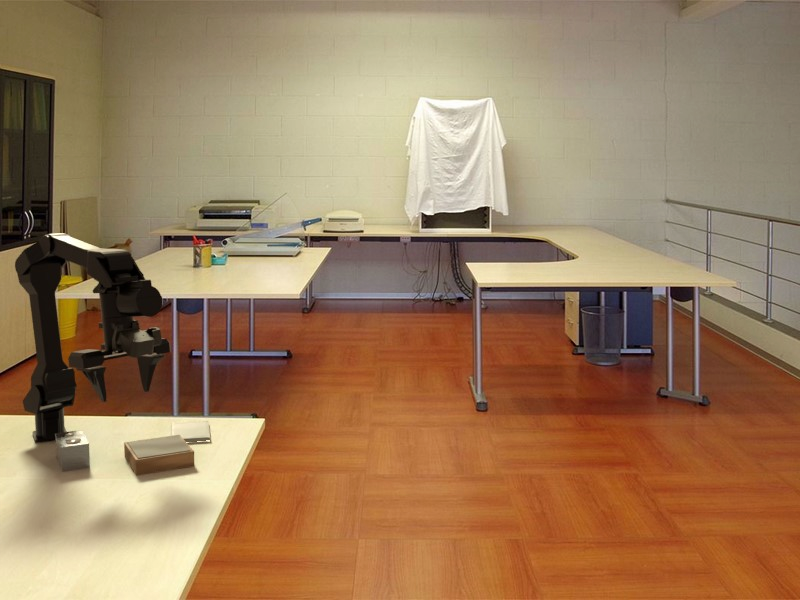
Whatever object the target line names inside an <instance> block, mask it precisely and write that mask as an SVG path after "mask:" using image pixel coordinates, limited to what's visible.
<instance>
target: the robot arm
mask: <svg viewBox="0 0 800 600" xmlns="http://www.w3.org/2000/svg"><path fill="white" fill-rule="evenodd" d="M69 262H70V263H73V264H75V265H78V266H80V267H82V268H84V269H85V271H86V274H87V275H88V276H89V277H91V278H92V279H93V280H95V281H96V282H97V285H96V286H94V288H93V289H92V294H99V295H98V296H99V304H100V305H99V306H100V315H101V322H98V329H102V333H103V336H102V337H103V342H104V343H101V344H100V349H101V350H100V349H93V348H91V349H89V348H88V349H80V350H75V351H71V352H70V354H69V356H68V358H67V361H68V365H67V364H66V362H64V361H65V360H64V358H63V357H64V356H63V350H62V342H61V334H60V326H59V316H58V308H57V307H58V306H57V299H56V291H57V289H58V287H59V285H60V283H61V281H62V269H63V268H64V267H65V266H66V264H68V263H69ZM14 269H15V272H16V273H17V278H18V283H19V284H20V286H21V287H22V288H23V290H25V292H26V293H27V294H28V297H29V303H30V304H29V305H30V311H31V313H30V314H31V320H32V329H33V337H34V344H35V354H36V360H37V361H36V363H37V364H36V365H35V368H34V369H33V372H32V374H31V376H30V389H29V390H28V392H27V394H26V395H25V396H24V398H23V399H22V404H23V408H24V411H25V412H28V413H31V414H33V415H34V426H35V430H33V431H32V436H33V439H34V442H36V443H39V442H46V441H55V433H62V432H68V431H67V428H66V427H65V408H68V407H72V406H74V403H75V398H76V397H75V396H76V392H77V386H78V385H77V383H76V374H75V373H76V372H75V370H76V371H78V372H82V374H83V375H84V376H85V378H86V380H87V381H88V382H89V383H90V384H91V386H92V387H93V390H94V391H95V393H96V394H97V396H98V398H99V400H100V401H101V402H102V403H106V402H107V388H106V382H105V373H106V369H107V366H104V365H103V363H104V362H105V361H109V360H113V359H118V358H123V357H124V358H125V357H130V358H134V359H135V358H136V360H137V365H138V366H137V367H138V371H139V376H140V381H141V385H142V389H143V391H144V393H148V392H150V388H151V384H152V380H153V377H154V374H155V370H156V368H157V365H158V363H159V362H160V361H161V360H162V359H163V358H165V357H166V354H167V353H169V354H170V353H171V352H172V351H171V349H172V348H171V342H170V341H169V340H168V339H167V338H166V337H165V338H164V337H162V332H161V331H162V330H161V329H160V328H159V327H157V326H154V327H148V328H147V329H143V330H141V328H140V323H139V320H137V319H136V320H135V318H134V317H137V318H138V317H141V318H143V317H144V318H147V317H149V318H151V317H154V316H157V314H158V313H160V311H161V309H162V306H163V296H162V295H161V293H160V291H159V289H157V288H156V286H152V285H153V284H152V280H151V279H146V278H145V277H144V276H145V274H144V273H143V272H142V271H141V269H140V268H139V266H138V264H137V262H136V260H135V259H134V258H133V256H132V254H131V252H130V251H129V250H127V249H119V248H103V247H102V248H100V247H98V246H95V245H93V244H89V243H87V242H85V241H82V240H79V239H77V238H75V237H71V235H69V234H67V233H65V232H64V233H63V232H62V233H61V232H59V233H46V234H44V235H42V237H41V238H40V239H39V240H38V241H36V242H35V243H33V244H31V245H29V246H28V247H26V248H25V249H23V251H21V253H20V254H19V255H18V257H17V258H16V259H15V262H14ZM102 365H103V366H102ZM74 369H75V370H74Z"/></svg>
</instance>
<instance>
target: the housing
mask: <svg viewBox="0 0 800 600" xmlns="http://www.w3.org/2000/svg"><path fill="white" fill-rule="evenodd" d="M54 441H55V458H56V460H57V463H58V465H59V468H60V470H61V472H63V473H65V472H69V471H77V470H83V469H84V470H85V469H90V468H91V465H90V464H91V461H90V459H91V458H90V442H89V440H88V439H87V436H86V435H85V433H84V432H83V429H82V430H81V429H79V430H72V431H71V430H70V431H67V432H62V433H55V440H54Z"/></svg>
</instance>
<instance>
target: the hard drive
mask: <svg viewBox="0 0 800 600" xmlns="http://www.w3.org/2000/svg"><path fill="white" fill-rule="evenodd" d="M201 420H202V419H200V420H188V421H187V420H186V421H173V422H171V424H170V436H174V435H180V436H181V437H182V438H183V439H184V440H185V441H186V442H197V441H206V440H210V441H211V432H210V425H209V424H210V422H209V420H208V421H201Z"/></svg>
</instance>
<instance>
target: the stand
mask: <svg viewBox="0 0 800 600" xmlns="http://www.w3.org/2000/svg"><path fill="white" fill-rule="evenodd" d="M123 444H124V445H123V447H124V452H123V453H124V458H125V460H126V462H127V463H128V465H129V466H130V467H131V469H132V470H133V472H134V474H135V476H141V475H147V474H153V473H159V472H165V471H172V470H178V469H183V468H184V469H185V468H189V467H194V466H195V450H194V449H193V448H192V447H191V446H190V445H189V443H186V441H185V440H184V439H183V438H182V437H181V436H180V435H174V436H171V435H168V436H160V437H153V438H147V439H140V440H132V441H125V442H123Z"/></svg>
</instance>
